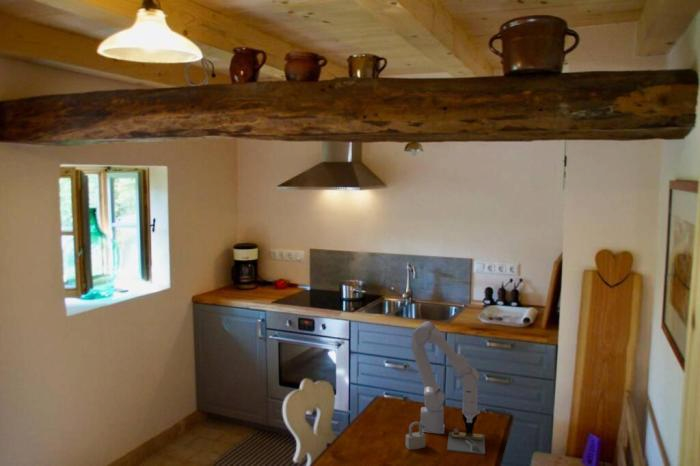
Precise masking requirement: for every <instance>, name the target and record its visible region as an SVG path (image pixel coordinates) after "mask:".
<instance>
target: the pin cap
mask: <svg viewBox="0 0 700 466" xmlns="http://www.w3.org/2000/svg"><path fill="white" fill-rule="evenodd" d="M453 432H454V434H459V432H460V429H459V428H454V429H453Z"/></svg>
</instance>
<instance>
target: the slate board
mask: <svg viewBox="0 0 700 466" xmlns="http://www.w3.org/2000/svg"><path fill="white" fill-rule="evenodd" d="M452 432H453V431H448V440H447V447H446V450H447V452H456V453H464V454H465V453H466V454H475V455H486V435H485V434H482V440H475V439H471V440H473V441H474V442H475V443H476V450H471V449H470V445H469V444H468V443H467V442H466V439H465V438H454V437H452Z"/></svg>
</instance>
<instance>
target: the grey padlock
mask: <svg viewBox="0 0 700 466" xmlns="http://www.w3.org/2000/svg"><path fill="white" fill-rule="evenodd" d="M414 426H418V431H417V432H416V431H415V432H413V427H414ZM405 447H406V449H407V450H409V451H410V450H418V449H422V448H425V447H426V434H425V432H422V424H421V423H420V421H413V422H411V424H410V425H409V427H408V433H406V434H405Z"/></svg>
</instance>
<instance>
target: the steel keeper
mask: <svg viewBox="0 0 700 466" xmlns="http://www.w3.org/2000/svg"><path fill="white" fill-rule="evenodd" d="M466 442H467V443H468V444H469V445H470V449H471V450H476V443H475V442H474V441H473V440H471V439H466Z"/></svg>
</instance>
